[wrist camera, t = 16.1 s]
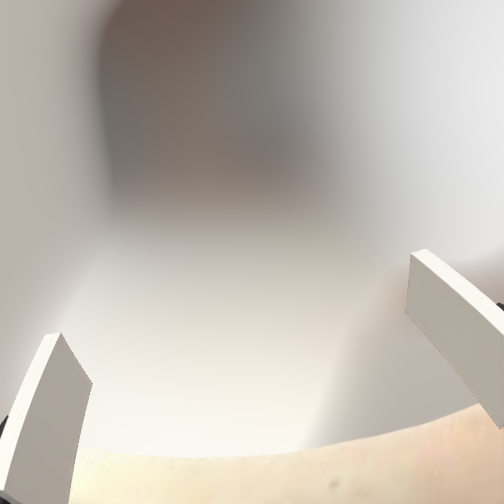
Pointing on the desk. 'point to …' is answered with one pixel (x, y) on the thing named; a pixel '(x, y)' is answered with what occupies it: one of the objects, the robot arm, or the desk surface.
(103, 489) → the desk surface
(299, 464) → the desk surface
